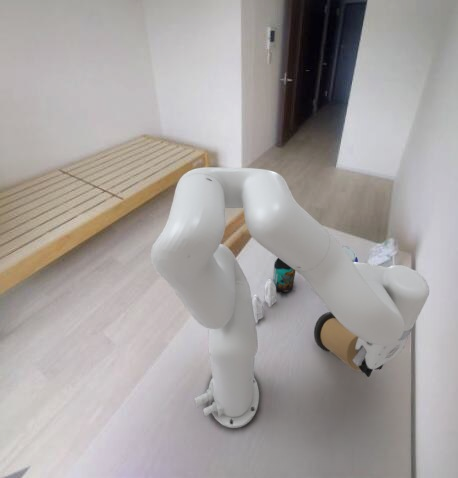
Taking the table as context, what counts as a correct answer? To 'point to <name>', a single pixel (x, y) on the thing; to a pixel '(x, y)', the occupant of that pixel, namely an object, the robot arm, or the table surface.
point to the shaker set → (269, 298)
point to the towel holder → (336, 339)
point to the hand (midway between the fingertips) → (369, 366)
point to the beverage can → (283, 277)
